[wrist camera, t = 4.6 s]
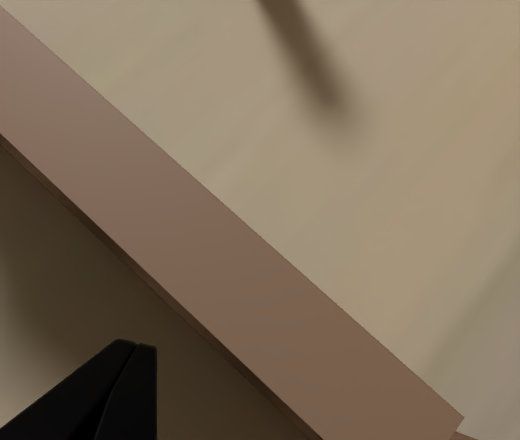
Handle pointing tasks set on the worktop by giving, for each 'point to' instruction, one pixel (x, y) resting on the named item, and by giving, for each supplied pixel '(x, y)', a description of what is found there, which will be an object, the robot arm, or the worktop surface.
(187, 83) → the worktop surface
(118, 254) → the gate frame
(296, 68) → the worktop surface
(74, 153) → the gate
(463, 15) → the worktop surface
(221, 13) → the worktop surface
